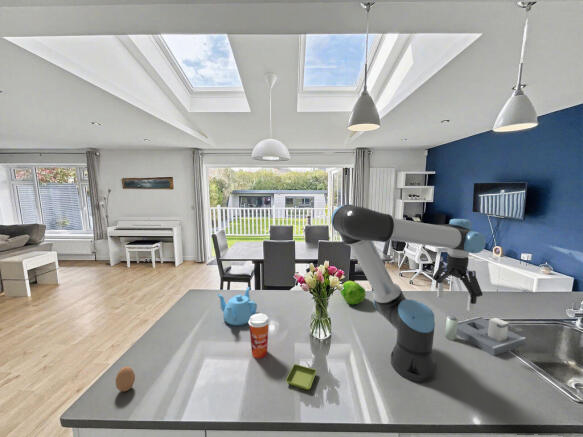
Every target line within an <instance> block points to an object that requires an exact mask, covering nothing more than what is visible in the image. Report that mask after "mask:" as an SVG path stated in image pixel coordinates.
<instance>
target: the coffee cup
mask: <svg viewBox="0 0 583 437" xmlns="http://www.w3.org/2000/svg"><path fill="white" fill-rule="evenodd" d="M270 321H271V320H270V318H269V317H268V315H267V314H265V313H258V314H254V315H252V316H251V317H250V320H249V322H248V323H247V324H248V325H249V334H250V346H251V354H252V357H254V358H255V359H263V358H264V357H266V356H267V354H268V346H269V345H268V344H269V343H268V342H269V325H270Z"/></svg>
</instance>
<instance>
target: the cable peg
mask: <svg viewBox="0 0 583 437" xmlns="http://www.w3.org/2000/svg"><path fill="white" fill-rule="evenodd" d="M445 322H446V323H445V336H444V337H445V339H447V340H449V341H456V340H457V336H458V335H457V324H458V322H459V319H458V318H456V316H453V315H448V316H447V317H446V321H445Z"/></svg>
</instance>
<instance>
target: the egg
mask: <svg viewBox="0 0 583 437" xmlns="http://www.w3.org/2000/svg"><path fill="white" fill-rule="evenodd" d="M135 379H136V375H135V371H134V370H133V369H132V368H131V367H130V366H123V367H122V368H120V370H119V371H118V373H117V374H116V377H115V387H116V389H117V390H118V391H119V392H124V393H125V392H127V391H130V389H131V388H132V387H133V385H134V383H135Z"/></svg>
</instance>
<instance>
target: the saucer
mask: <svg viewBox="0 0 583 437" xmlns="http://www.w3.org/2000/svg"><path fill="white" fill-rule="evenodd" d="M317 371H318V370H317V369H315V368H310V367H307V366H305V365H304V366H303V365H300V364H296V363H294V364H293V366H292V367H291V369H290V371H289V374H288V375H287V377H286V379H285V382H286V383H287V384H289V385H291V386H294V387H297V388H300V389H304V390H307V391H308V390H310V389H311V388H312V384H313V382H314V381H315V380H314V379H315V376H316V374H317Z"/></svg>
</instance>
